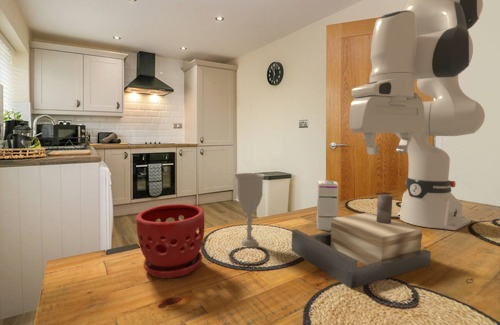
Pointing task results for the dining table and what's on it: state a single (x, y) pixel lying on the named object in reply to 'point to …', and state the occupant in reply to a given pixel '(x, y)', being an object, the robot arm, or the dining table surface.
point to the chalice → (249, 200)
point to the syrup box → (326, 204)
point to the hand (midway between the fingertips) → (387, 153)
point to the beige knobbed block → (374, 235)
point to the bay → (352, 261)
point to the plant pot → (171, 239)
